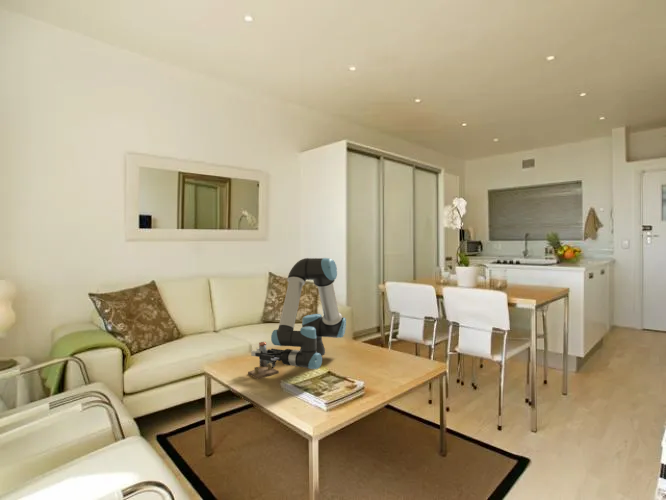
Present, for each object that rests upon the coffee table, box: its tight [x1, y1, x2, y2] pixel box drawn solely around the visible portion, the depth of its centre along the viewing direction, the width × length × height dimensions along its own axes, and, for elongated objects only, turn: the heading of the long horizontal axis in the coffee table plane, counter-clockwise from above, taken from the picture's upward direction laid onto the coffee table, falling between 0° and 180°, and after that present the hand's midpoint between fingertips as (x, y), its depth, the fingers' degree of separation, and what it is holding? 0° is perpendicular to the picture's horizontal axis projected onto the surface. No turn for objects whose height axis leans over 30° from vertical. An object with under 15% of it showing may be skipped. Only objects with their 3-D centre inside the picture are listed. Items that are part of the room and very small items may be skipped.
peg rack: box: [247, 363, 280, 380], centre depth 193 cm, size 12×10×4 cm
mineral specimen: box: [266, 360, 278, 368], centre depth 206 cm, size 10×8×10 cm
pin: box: [258, 341, 267, 368], centre depth 193 cm, size 4×4×12 cm
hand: (254, 351), depth 195 cm, fingers closed on pin, 3 cm apart
